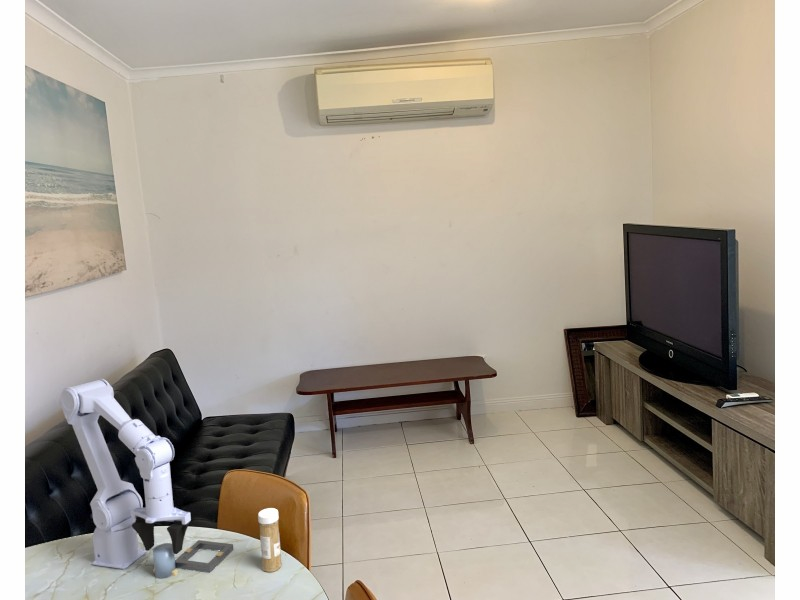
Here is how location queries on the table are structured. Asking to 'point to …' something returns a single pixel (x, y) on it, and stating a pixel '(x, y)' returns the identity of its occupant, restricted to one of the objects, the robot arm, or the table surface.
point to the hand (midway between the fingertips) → (163, 550)
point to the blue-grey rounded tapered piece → (164, 561)
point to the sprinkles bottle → (270, 539)
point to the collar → (201, 566)
